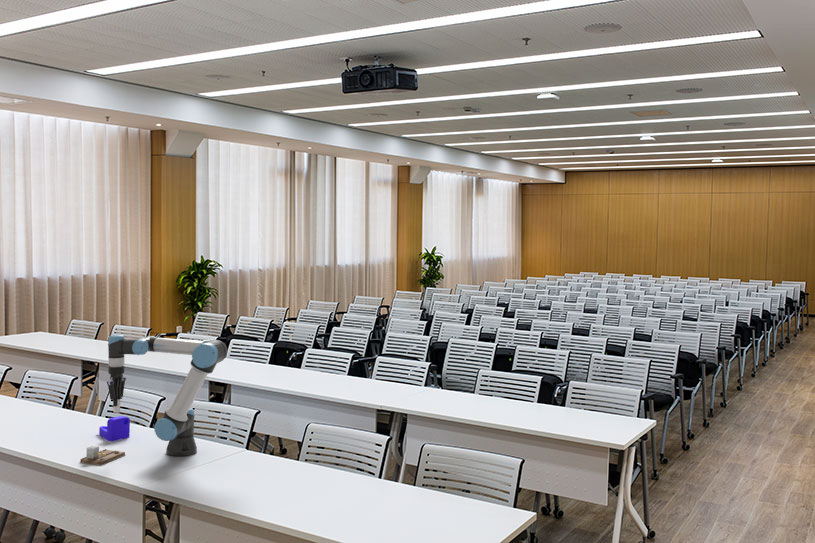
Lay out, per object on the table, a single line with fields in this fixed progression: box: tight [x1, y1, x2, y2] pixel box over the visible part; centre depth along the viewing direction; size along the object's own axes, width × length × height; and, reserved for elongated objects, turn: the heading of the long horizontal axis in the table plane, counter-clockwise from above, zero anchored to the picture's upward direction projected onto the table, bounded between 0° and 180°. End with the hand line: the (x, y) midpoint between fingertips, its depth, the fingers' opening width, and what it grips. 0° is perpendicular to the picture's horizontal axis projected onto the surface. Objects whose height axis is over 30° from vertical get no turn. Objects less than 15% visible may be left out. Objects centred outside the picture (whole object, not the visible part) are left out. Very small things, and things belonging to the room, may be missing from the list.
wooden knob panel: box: [79, 448, 126, 466], centre depth 358 cm, size 12×18×3 cm, turn 165°
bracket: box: [98, 415, 131, 442], centre depth 399 cm, size 18×11×12 cm, turn 57°
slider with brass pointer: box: [85, 445, 106, 459], centre depth 353 cm, size 9×4×5 cm, turn 75°
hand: (116, 412), depth 364 cm, fingers closed
